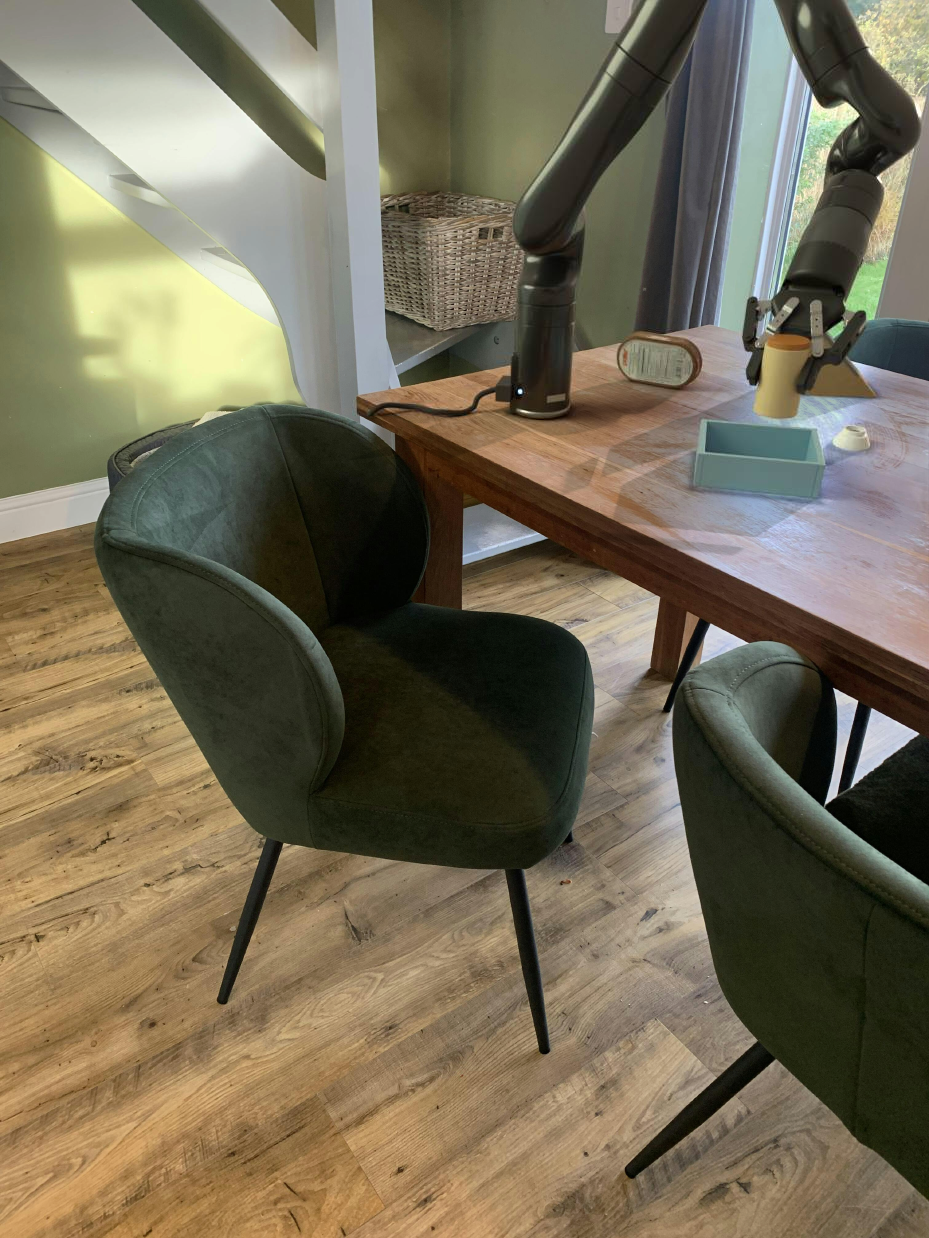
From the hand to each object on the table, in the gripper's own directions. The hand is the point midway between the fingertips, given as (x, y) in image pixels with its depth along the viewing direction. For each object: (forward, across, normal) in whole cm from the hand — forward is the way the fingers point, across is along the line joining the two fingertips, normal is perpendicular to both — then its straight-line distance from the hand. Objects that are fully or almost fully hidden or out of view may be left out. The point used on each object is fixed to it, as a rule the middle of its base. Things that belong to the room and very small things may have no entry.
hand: (776, 386), depth 101 cm
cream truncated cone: (-10, +4, +33) cm, 35 cm away
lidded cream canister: (+1, 0, +4) cm, 4 cm away
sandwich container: (-29, -6, +52) cm, 60 cm away
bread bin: (+3, -4, +20) cm, 20 cm away
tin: (-19, -32, +42) cm, 56 cm away
